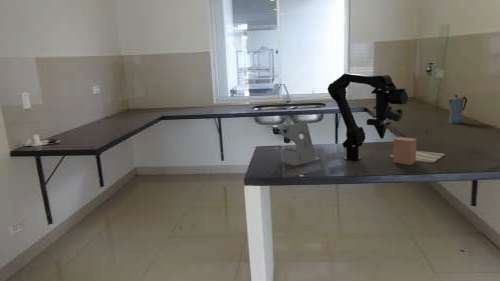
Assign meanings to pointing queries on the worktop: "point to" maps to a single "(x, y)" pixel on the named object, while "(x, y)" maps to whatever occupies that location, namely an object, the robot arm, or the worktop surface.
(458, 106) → the moka pot
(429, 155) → the birch board
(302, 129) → the phone holder
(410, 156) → the terracotta block
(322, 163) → the worktop surface
